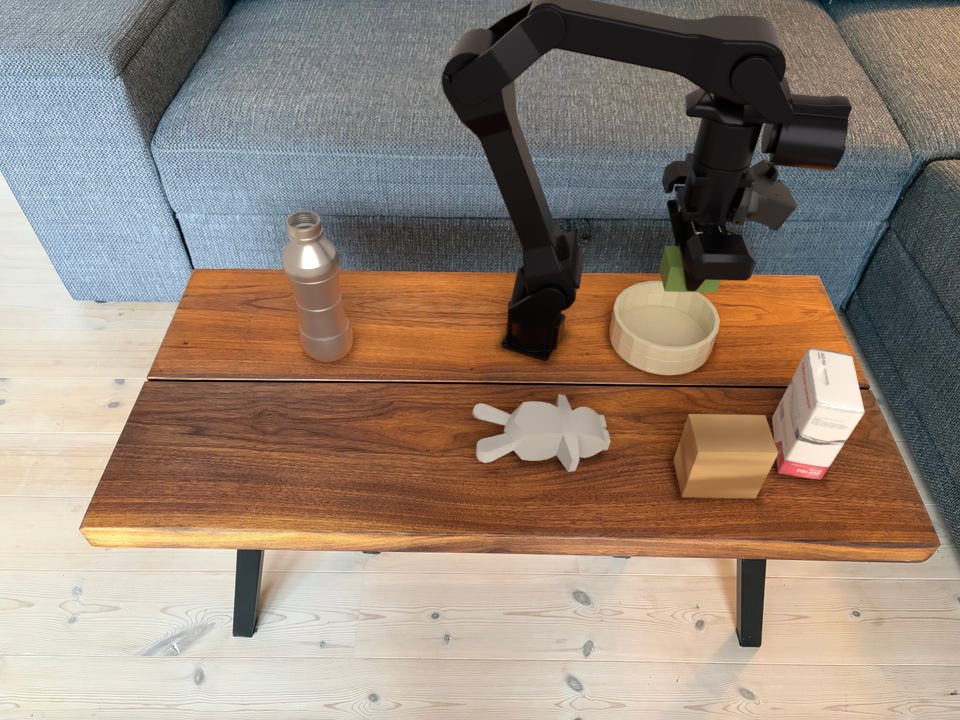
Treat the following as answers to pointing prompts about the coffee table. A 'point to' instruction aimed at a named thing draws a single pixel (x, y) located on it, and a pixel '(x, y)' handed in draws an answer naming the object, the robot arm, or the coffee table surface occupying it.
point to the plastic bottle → (316, 288)
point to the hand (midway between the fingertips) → (687, 278)
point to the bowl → (663, 328)
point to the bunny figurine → (544, 432)
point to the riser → (724, 456)
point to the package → (679, 273)
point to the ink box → (816, 413)
